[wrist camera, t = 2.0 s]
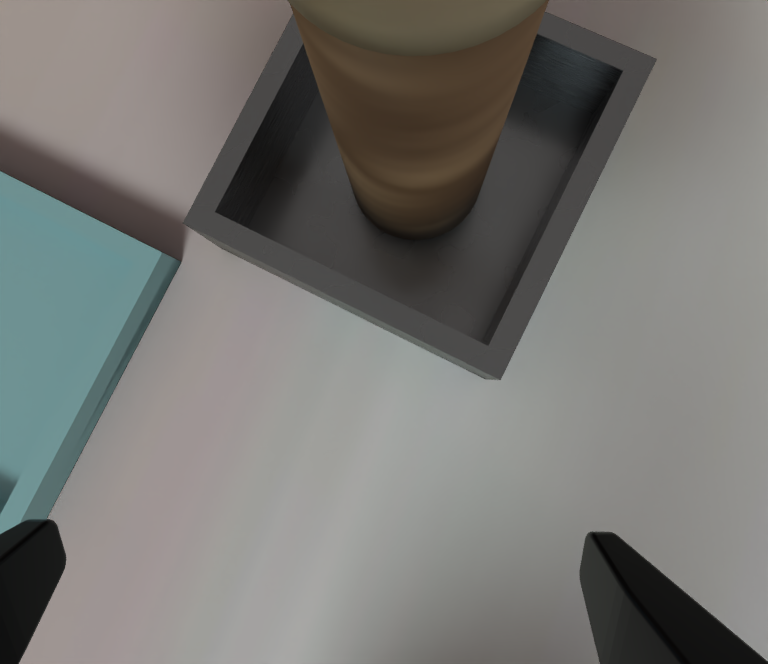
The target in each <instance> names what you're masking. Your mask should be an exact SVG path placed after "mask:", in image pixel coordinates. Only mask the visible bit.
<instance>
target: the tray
mask: <svg viewBox="0 0 768 664" xmlns="http://www.w3.org/2000/svg"><path fill="white" fill-rule="evenodd" d="M180 263H181V261H179V260H177V259H175V258H173V257H171V256H169V255H167V254H165V253H163V252H161V251H159V250H157V249H155V248H153V247H151V246H149V245H147V244H145V243H143V242H141V241H139V240H137V239H135V238H133V237H131V236H129V235H127V234H125V233H123V232H121V231H119V230H117V229H115V228H113V227H111V226H109V225H107V224H105V223H103V222H101V221H99V220H97V219H95V218H93V217H91V216H89V215H87V214H85V213H83V212H81V211H79V210H77V209H75V208H73V207H71V206H69V205H67V204H65V203H63V202H61V201H59V200H57V199H55V198H53V197H51V196H49V195H47V194H45V193H43V192H41V191H39V190H37V189H35V188H33V187H31V186H29V185H27V184H25V183H23V182H21V181H19V180H17V179H15V178H13V177H11V176H9V175H7V174H5V173H3V172H1V171H0V534H1V533H3V532H5V531H7V530H9V529H10V528H12V527H14V526H16V525H18V524H19V523H21V522H23V521H25V520H28V519H47V517H48V515H49V513H50V511H51V509H52V507H53V505H54V503H55V501H56V500H57V498H58V496H59V494H60V492H61V490H62V488H63V486H64V484H65V482H66V480H67V479H68V477H69V475H70V473H71V471H72V469H73V467H74V465H75V463H76V461H77V460H78V458H79V456H80V454H81V452H82V450H83V448H84V446H85V444H86V442H87V440H88V439H89V437H90V435H91V433H92V431H93V429H94V427H95V425H96V423H97V421H98V420H99V418H100V416H101V414H102V412H103V410H104V408H105V406H106V404H107V402H108V400H109V399H110V397H111V395H112V393H113V391H114V389H115V387H116V385H117V383H118V381H119V380H120V378H121V376H122V374H123V372H124V370H125V368H126V366H127V364H128V362H129V360H130V359H131V357H132V355H133V353H134V351H135V349H136V347H137V345H138V343H139V341H140V340H141V338H142V336H143V334H144V332H145V330H146V328H147V326H148V324H149V322H150V320H151V319H152V317H153V315H154V313H155V311H156V309H157V307H158V305H159V303H160V301H161V300H162V298H163V296H164V294H165V292H166V290H167V288H168V286H169V284H170V282H171V280H172V279H173V277H174V275H175V273H176V271H177V269H178V267H179V265H180Z"/></svg>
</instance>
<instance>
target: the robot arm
mask: <svg viewBox="0 0 768 664" xmlns="http://www.w3.org/2000/svg"><path fill="white" fill-rule="evenodd" d="M65 565H66V553H65V550H64V547H63V543H62V540H61V536H60V533H59V530H58V526H57V524H56V523H55V522H54V521H53V520H50V519H28V520H25V521H23V522H21V523H19V524H18V525H16V526H14V527H12V528H10V529H9V530H7V531H5V532H3V533H1V534H0V664H19V662H20V660H21V658H22V656H23V654H24V652H25V650H26V648H27V646H28V644H29V642H30V640H31V638H32V636H33V634H34V632H35V630H36V628H37V626H38V624H39V622H40V619H41V617H42V615H43V613H44V611H45V609H46V607H47V605H48V603H49V601H50V599H51V597H52V595H53V592H54V590H55V588H56V586H57V584H58V582H59V580H60V578H61V576H62V574H63V571H64V569H65ZM580 582H581V587H582V591H583V595H584V599H585V604H586V608H587V612H588V616H589V620H590V624H591V628H592V633H593V637H594V641H595V645H596V649H597V653H598V657H599V662H600V664H768V661H766V660H765V659H764V658H763V657H762V656H760V655H759V654H758V653H757V652H756V651H755V650H753V649H752V648H751V647H750V646H749V645H747V644H746V643H745V642H744V641H743V640H741V639H740V638H739V637H738V636H737V635H735V634H734V633H733V632H732V631H731V630H729V629H728V628H727V627H726V626H725V625H724V624H722V623H721V622H720V621H719V620H718V619H716V618H715V617H714V616H713V615H712V614H710V613H709V612H708V611H707V610H706V609H704V608H703V607H702V606H701V605H700V604H699V603H697V602H696V601H695V600H694V599H693V598H691V597H690V596H689V595H688V594H687V593H685V592H684V591H683V590H682V589H681V588H679V587H678V586H677V585H676V584H675V583H673V582H672V581H671V580H670V579H669V578H668V577H666V576H665V575H664V574H663V573H662V572H660V571H659V570H658V569H657V568H656V567H654V566H653V565H652V564H651V563H650V562H648V561H647V560H646V559H645V558H644V557H643V556H641V555H640V554H639V553H638V552H637V551H635V550H634V549H633V548H632V547H631V546H629V545H628V544H627V543H626V542H625V541H623V540H622V539H621V538H620V537H619V536H617V535H616V534H614V533H612V532H589V533H588V534H587V536H586V538H585V543H584V548H583V554H582V560H581V565H580Z"/></svg>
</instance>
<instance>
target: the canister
mask: <svg viewBox="0 0 768 664" xmlns="http://www.w3.org/2000/svg"><path fill="white" fill-rule="evenodd" d="M288 1H289V3H290V5H291V8H292V11H293V14H294V17H295V20H296V23H297V26H298V29H299V32H300V35H301V38H302V41H303V44H304V47H305V50H306V53H307V56H308V59H309V62H310V65H311V68H312V71H313V74H314V77H315V80H316V82H317V85H318V88H319V91H320V94H321V97H322V100H323V103H324V106H325V109H326V112H327V115H328V118H329V121H330V124H331V127H332V130H333V133H334V136H335V139H336V142H337V145H338V148H339V151H340V154H341V157H342V160H343V163H344V166H345V169H346V172H347V175H348V178H349V181H350V184H351V187H352V190H353V193H354V196H355V199H356V201H357V204H358V206H359V208H360V209H361V211H362V213H363V214H364V215H365V216H366V218H367V219H368V220H369V221H370V222H371V223H372V224H373V225H374V226H376V227H377V228H378V229H380V230H382V231H383V232H385V233H387V234H389V235H392V236H394V237H398V238H402V239H408V240H424V239H430V238H434V237H437V236H440V235H442V234H445V233H447V232H448V231H450V230H452V229H453V228H455V227H456V226H457V225H459V224H460V223H461V222H462V221H463V220H464V219H465V218H466V217H467V215H468V214H469V213H470V212H471V210H472V208H473V207H474V205H475V203H476V201H477V198H478V196H479V193H480V190H481V187H482V185H483V182H484V179H485V176H486V173H487V171H488V168H489V165H490V162H491V160H492V157H493V154H494V151H495V148H496V146H497V143H498V140H499V137H500V135H501V132H502V129H503V126H504V124H505V121H506V118H507V115H508V112H509V110H510V107H511V104H512V101H513V99H514V96H515V93H516V90H517V87H518V85H519V82H520V79H521V76H522V74H523V71H524V68H525V65H526V62H527V60H528V57H529V54H530V51H531V49H532V46H533V43H534V40H535V37H536V35H537V32H538V29H539V26H540V24H541V21H542V18H543V15H544V12H545V10H546V7H547V4H548V1H549V0H288Z"/></svg>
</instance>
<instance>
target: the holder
mask: <svg viewBox="0 0 768 664" xmlns="http://www.w3.org/2000/svg"><path fill="white" fill-rule="evenodd" d="M656 60H657V59H655V58H653V57H651V56H648V55H646V54H644V53H641V52H639V51H637V50H634V49H632V48H629V47H627V46H625V45H622V44H620V43H618V42H615V41H613V40H611V39H608V38H606V37H604V36H601V35H599V34H596V33H594V32H592V31H589V30H587V29H585V28H582V27H580V26H578V25H575V24H573V23H571V22H568V21H566V20H564V19H561V18H559V17H556V16H554V15H552V14H549V13H547V12H544V15H543V18H542V21H541V24H540V26H539V29H538V32H537V35H536V37H535V40H534V43H533V46H532V49H531V51H530V54H529V57H528V60H527V62H526V65H525V68H524V71H523V74H522V76H521V79H520V82H519V85H518V87H517V90H516V93H515V96H514V99H513V101H512V104H511V107H510V110H509V112H508V115H507V118H506V121H505V124H504V126H503V129H502V132H501V135H500V137H499V140H498V143H497V146H496V148H495V151H494V154H493V157H492V160H491V162H490V165H489V168H488V171H487V173H486V176H485V179H484V182H483V185H482V187H481V190H480V193H479V196H478V198H477V201H476V203H475V205H474V207H473V208H472V210H471V212H470V213H469V214H468V215H467V217H466V218H465V219H464V220H463V221H462V222H461V223H460V224H459V225H457V226H456V227H455V228H453V229H452V230H450V231H448V232H447V233H445V234H442V235H440V236H437V237H434V238H430V239H424V240H408V239H402V238H398V237H394V236H392V235H389V234H387V233H385V232H383V231H382V230H380V229H378V228H377V227H376V226H374V225H373V224H372V223H371V222H370V221H369V220H368V219H367V218H366V216H365V215H364V214H363V213H362V211H361V209H360V208H359V206H358V204H357V201H356V199H355V196H354V193H353V190H352V187H351V184H350V181H349V178H348V175H347V172H346V169H345V166H344V163H343V160H342V157H341V154H340V151H339V148H338V145H337V142H336V139H335V136H334V133H333V130H332V127H331V124H330V121H329V118H328V115H327V112H326V109H325V106H324V103H323V100H322V97H321V94H320V91H319V88H318V85H317V82H316V80H315V77H314V74H313V71H312V68H311V65H310V62H309V59H308V56H307V53H306V50H305V47H304V44H303V41H302V38H301V35H300V32H299V29H298V26H297V23H296V20H295V17H294V14H293V15H292V17H291V19H290V21H289V23H288V24H287V26H286V28H285V30H284V32H283V34H282V36H281V38H280V40H279V42H278V43H277V45H276V47H275V49H274V51H273V53H272V55H271V57H270V59H269V61H268V62H267V64H266V66H265V68H264V70H263V72H262V74H261V76H260V78H259V80H258V81H257V83H256V85H255V87H254V89H253V91H252V93H251V95H250V97H249V99H248V100H247V102H246V104H245V106H244V108H243V110H242V112H241V114H240V116H239V118H238V119H237V121H236V123H235V125H234V127H233V129H232V131H231V133H230V135H229V136H228V138H227V140H226V142H225V144H224V146H223V148H222V150H221V152H220V154H219V155H218V157H217V159H216V161H215V163H214V165H213V167H212V169H211V171H210V173H209V174H208V176H207V178H206V180H205V182H204V184H203V186H202V188H201V190H200V192H199V193H198V195H197V197H196V199H195V201H194V203H193V205H192V207H191V209H190V211H189V212H188V214H187V216H186V218H185V220H184V222H183V224H185V225H187V226H188V227H190V228H191V229H193V230H194V231H196V232H197V233H199V234H200V235H202V236H203V237H205V238H206V239H208V240H209V241H211V242H212V243H214V244H215V245H217V246H219V247H220V248H222V249H224V250H226V251H228V252H230V253H232V254H234V255H236V256H238V257H240V258H242V259H244V260H246V261H248V262H250V263H252V264H254V265H256V266H258V267H260V268H262V269H264V270H266V271H268V272H270V273H272V274H274V275H276V276H278V277H280V278H282V279H284V280H286V281H288V282H290V283H292V284H294V285H296V286H298V287H300V288H302V289H304V290H307V291H309V292H311V293H313V294H315V295H317V296H319V297H321V298H323V299H325V300H327V301H329V302H331V303H333V304H335V305H337V306H339V307H341V308H343V309H345V310H347V311H349V312H351V313H353V314H355V315H357V316H359V317H361V318H363V319H365V320H367V321H369V322H371V323H373V324H375V325H377V326H379V327H381V328H383V329H385V330H387V331H389V332H391V333H393V334H395V335H397V336H399V337H401V338H403V339H405V340H407V341H409V342H411V343H413V344H415V345H417V346H420V347H422V348H424V349H426V350H428V351H430V352H432V353H434V354H436V355H438V356H440V357H442V358H444V359H446V360H448V361H450V362H452V363H454V364H456V365H458V366H460V367H462V368H464V369H466V370H468V371H470V372H472V373H474V374H476V375H478V376H480V377H482V378H484V379H491V380H501V378H502V376H503V374H504V372H505V370H506V367H507V365H508V363H509V361H510V359H511V357H512V355H513V353H514V351H515V349H516V347H517V345H518V343H519V341H520V339H521V337H522V335H523V333H524V331H525V328H526V326H527V324H528V322H529V320H530V318H531V316H532V314H533V312H534V310H535V308H536V306H537V304H538V302H539V300H540V298H541V296H542V294H543V292H544V290H545V287H546V285H547V283H548V281H549V279H550V277H551V275H552V273H553V271H554V269H555V267H556V265H557V263H558V261H559V259H560V257H561V255H562V253H563V251H564V248H565V246H566V244H567V242H568V240H569V238H570V236H571V234H572V232H573V230H574V228H575V226H576V224H577V222H578V220H579V218H580V216H581V214H582V212H583V209H584V207H585V205H586V203H587V201H588V199H589V197H590V195H591V193H592V191H593V189H594V187H595V185H596V183H597V181H598V179H599V177H600V175H601V173H602V170H603V168H604V166H605V164H606V162H607V160H608V158H609V156H610V154H611V152H612V150H613V148H614V146H615V144H616V142H617V140H618V138H619V136H620V134H621V132H622V129H623V127H624V125H625V123H626V121H627V119H628V117H629V115H630V113H631V111H632V109H633V107H634V105H635V103H636V101H637V99H638V97H639V95H640V93H641V90H642V88H643V86H644V84H645V82H646V80H647V78H648V76H649V74H650V72H651V70H652V68H653V66H654V64H655V62H656Z"/></svg>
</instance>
